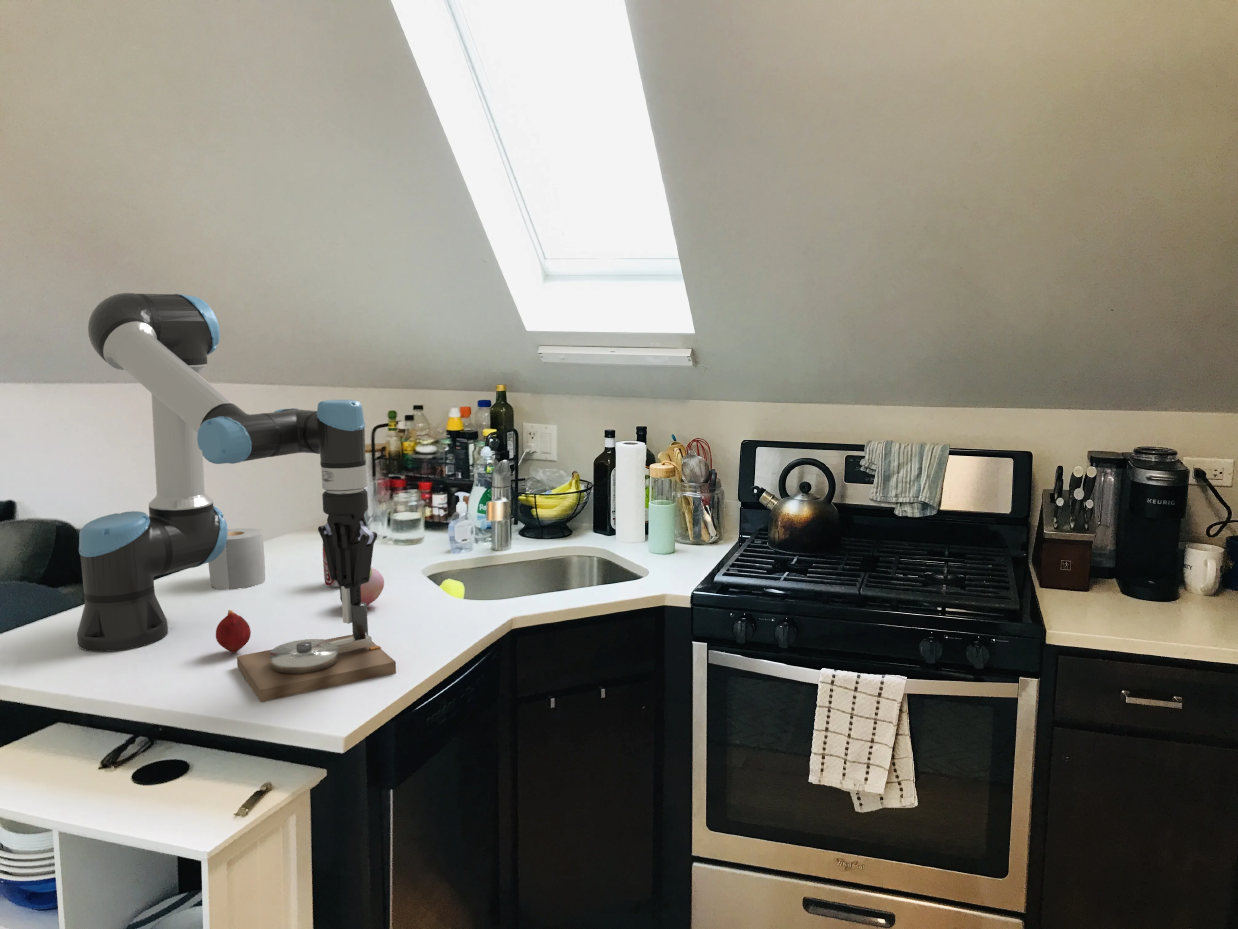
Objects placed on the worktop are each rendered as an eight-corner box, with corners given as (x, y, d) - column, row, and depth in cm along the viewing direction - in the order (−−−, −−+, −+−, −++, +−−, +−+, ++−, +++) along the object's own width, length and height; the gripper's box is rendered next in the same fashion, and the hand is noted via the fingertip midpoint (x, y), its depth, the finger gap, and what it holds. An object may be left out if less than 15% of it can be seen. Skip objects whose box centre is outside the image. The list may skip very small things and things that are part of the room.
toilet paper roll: (267, 585, 209) (264, 536, 207) (210, 592, 204) (206, 541, 202) (264, 573, 220) (261, 526, 218) (209, 579, 215) (206, 530, 213)
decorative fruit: (334, 605, 194) (332, 559, 192) (371, 598, 199) (369, 553, 197) (353, 616, 187) (351, 568, 185) (390, 608, 192) (388, 561, 190)
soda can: (351, 589, 206) (348, 537, 204) (320, 589, 206) (317, 537, 204) (360, 581, 212) (358, 530, 211) (330, 581, 213) (327, 530, 211)
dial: (283, 678, 148) (280, 631, 146) (261, 659, 156) (258, 614, 155) (382, 654, 158) (380, 610, 157) (356, 638, 167) (354, 595, 165)
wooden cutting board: (260, 702, 144) (259, 688, 144) (237, 667, 159) (236, 654, 159) (396, 672, 156) (395, 660, 156) (362, 642, 171) (362, 631, 170)
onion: (256, 646, 169) (253, 605, 168) (244, 658, 163) (241, 614, 162) (224, 647, 169) (221, 605, 168) (211, 658, 163) (208, 615, 162)
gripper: (302, 489, 159) (310, 620, 162) (352, 496, 151) (359, 633, 155) (337, 483, 165) (344, 609, 168) (387, 489, 158) (393, 621, 161)
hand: (351, 620), depth 162 cm, fingers closed
